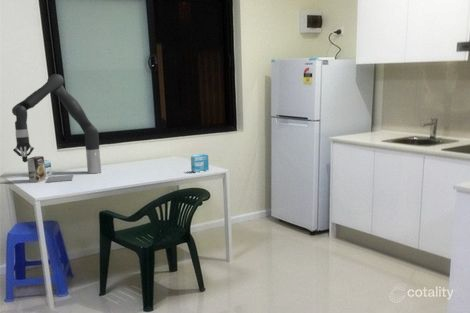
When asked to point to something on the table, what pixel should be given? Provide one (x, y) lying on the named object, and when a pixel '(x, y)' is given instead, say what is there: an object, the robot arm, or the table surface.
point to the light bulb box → (47, 167)
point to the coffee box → (36, 169)
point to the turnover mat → (59, 178)
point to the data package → (199, 163)
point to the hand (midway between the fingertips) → (25, 162)
